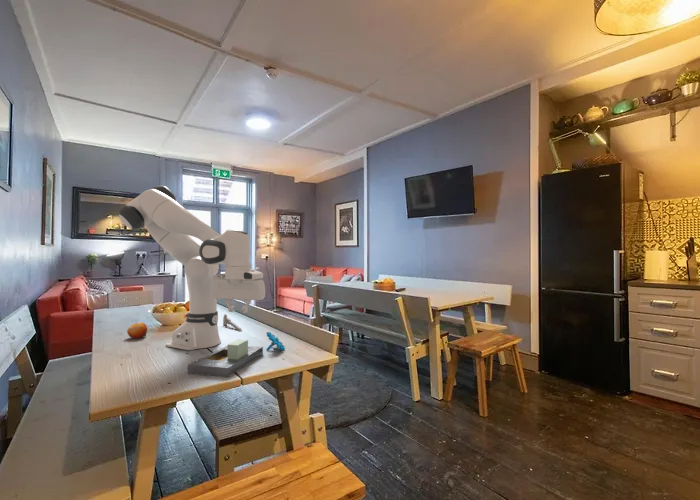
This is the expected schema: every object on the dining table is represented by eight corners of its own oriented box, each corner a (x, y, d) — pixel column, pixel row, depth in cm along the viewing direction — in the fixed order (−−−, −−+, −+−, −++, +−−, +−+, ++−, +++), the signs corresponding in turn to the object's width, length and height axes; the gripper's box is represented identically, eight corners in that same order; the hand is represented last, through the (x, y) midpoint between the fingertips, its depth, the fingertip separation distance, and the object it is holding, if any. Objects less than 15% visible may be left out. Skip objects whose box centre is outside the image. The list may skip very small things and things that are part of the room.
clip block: (227, 358, 119) (227, 344, 119) (238, 352, 126) (238, 339, 126) (237, 359, 118) (237, 345, 118) (248, 353, 125) (248, 339, 125)
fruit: (154, 333, 162) (145, 320, 159) (139, 344, 157) (130, 332, 153) (146, 330, 167) (137, 318, 163) (131, 342, 161) (121, 329, 157)
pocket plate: (188, 373, 113) (188, 364, 113) (229, 352, 137) (229, 344, 137) (227, 377, 110) (227, 368, 110) (262, 354, 133) (262, 347, 133)
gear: (284, 349, 134) (266, 332, 135) (273, 360, 133) (255, 343, 134) (287, 345, 145) (271, 329, 146) (277, 355, 144) (261, 339, 145)
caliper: (223, 325, 185) (223, 314, 185) (225, 325, 186) (224, 313, 186) (240, 332, 170) (240, 319, 170) (242, 331, 171) (242, 319, 171)
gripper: (207, 274, 121) (207, 312, 122) (258, 274, 117) (259, 314, 117) (217, 272, 128) (218, 309, 128) (267, 273, 123) (267, 311, 123)
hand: (238, 311), depth 122 cm, fingers open, 4 cm apart
